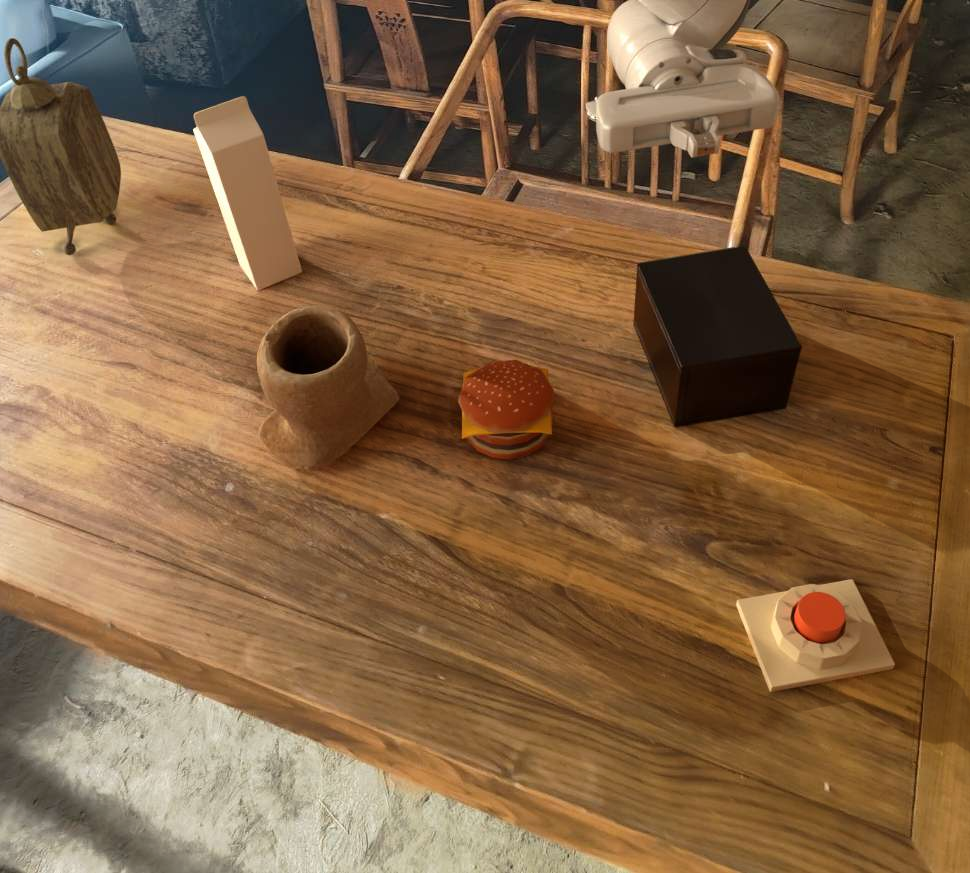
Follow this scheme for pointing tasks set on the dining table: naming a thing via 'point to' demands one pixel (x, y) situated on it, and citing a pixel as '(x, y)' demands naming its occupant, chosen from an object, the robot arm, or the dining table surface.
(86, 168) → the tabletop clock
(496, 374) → the hamburger
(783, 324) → the dark brown box
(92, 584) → the dining table surface
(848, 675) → the button base
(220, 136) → the milk
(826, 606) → the button
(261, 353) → the stone cup
